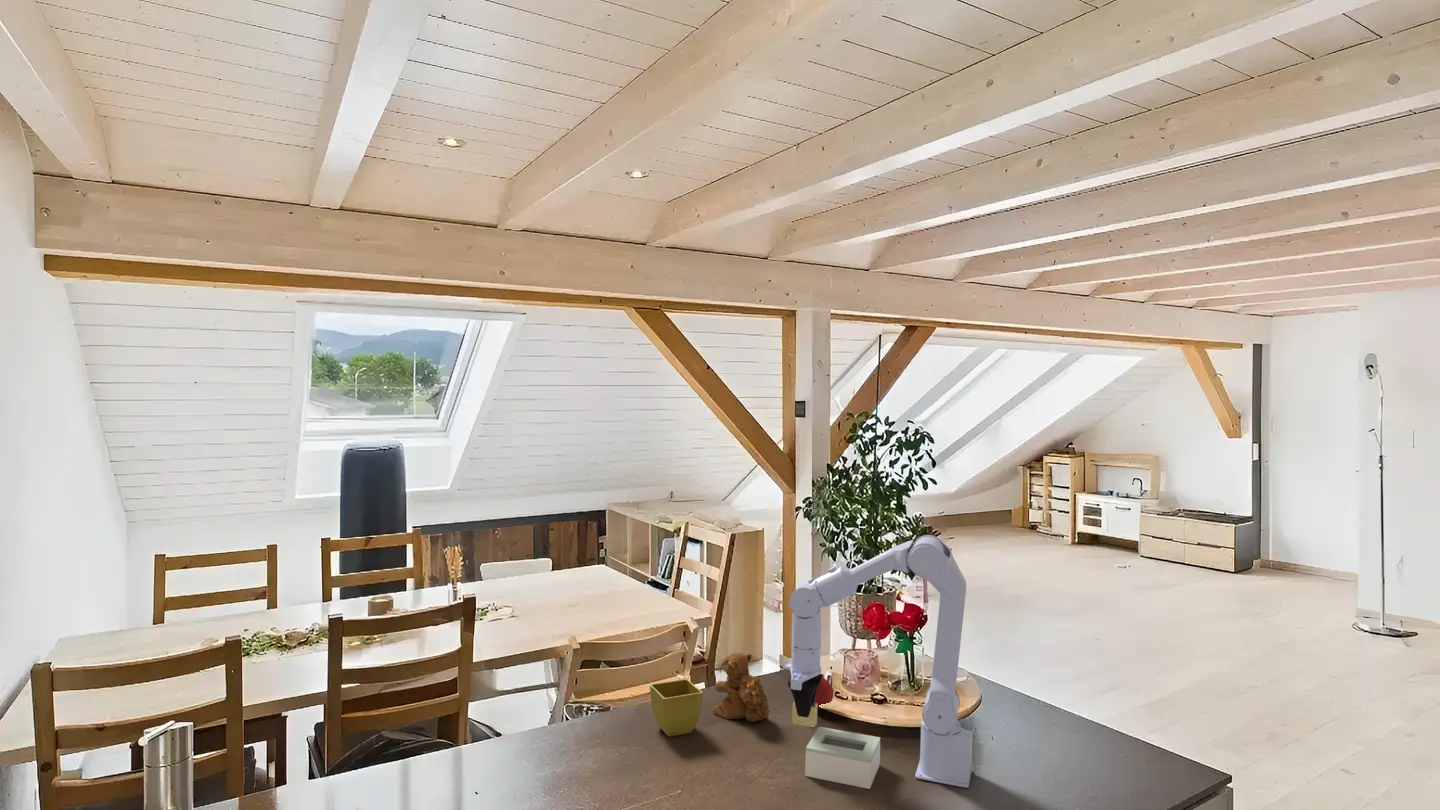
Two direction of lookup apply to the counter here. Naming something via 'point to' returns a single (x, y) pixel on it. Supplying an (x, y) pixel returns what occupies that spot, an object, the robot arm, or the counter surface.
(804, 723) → the tan rectangular block
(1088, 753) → the counter surface
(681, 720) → the flower pot
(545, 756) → the counter surface
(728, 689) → the stuffed squirrel
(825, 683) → the onion
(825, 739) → the box
